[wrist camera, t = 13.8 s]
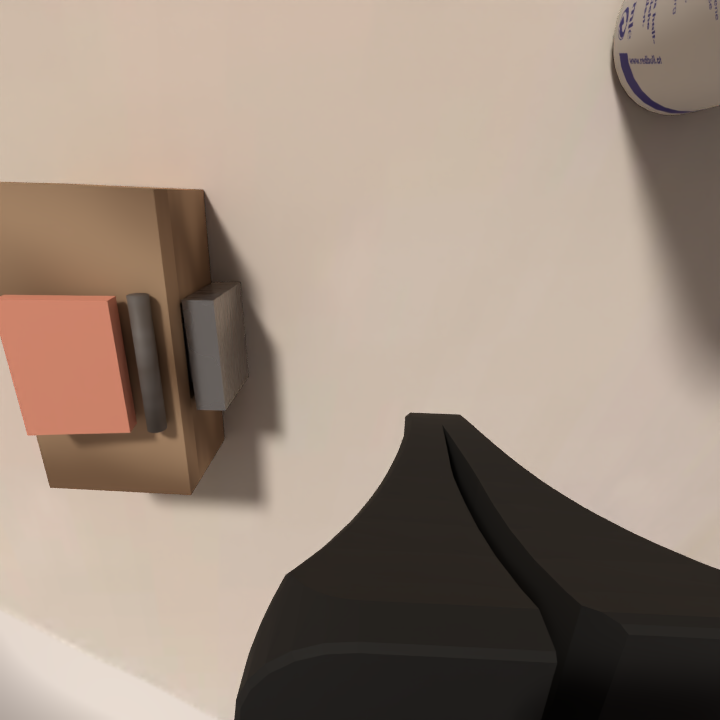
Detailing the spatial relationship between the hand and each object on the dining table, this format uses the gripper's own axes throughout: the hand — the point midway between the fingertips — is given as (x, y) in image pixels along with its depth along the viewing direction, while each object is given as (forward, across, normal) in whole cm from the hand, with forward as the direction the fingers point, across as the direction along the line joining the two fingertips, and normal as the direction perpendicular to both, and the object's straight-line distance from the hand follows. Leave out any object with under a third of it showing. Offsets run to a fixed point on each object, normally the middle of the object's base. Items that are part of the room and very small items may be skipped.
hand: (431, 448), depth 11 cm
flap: (+5, +10, 0) cm, 11 cm away
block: (+10, +12, 0) cm, 15 cm away
